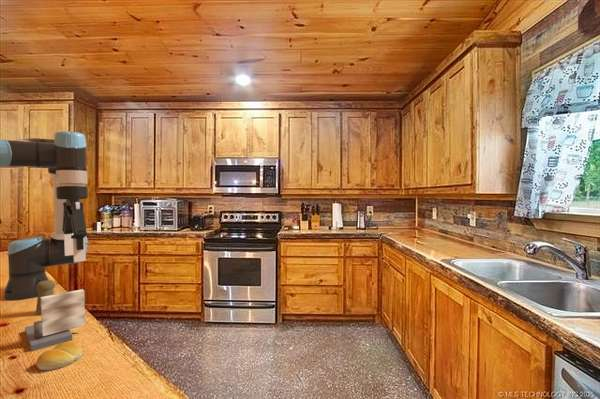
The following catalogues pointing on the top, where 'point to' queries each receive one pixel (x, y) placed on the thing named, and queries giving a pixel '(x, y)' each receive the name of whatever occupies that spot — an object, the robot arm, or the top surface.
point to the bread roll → (59, 356)
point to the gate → (61, 313)
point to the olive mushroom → (44, 292)
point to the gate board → (46, 338)
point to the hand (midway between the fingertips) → (74, 258)
